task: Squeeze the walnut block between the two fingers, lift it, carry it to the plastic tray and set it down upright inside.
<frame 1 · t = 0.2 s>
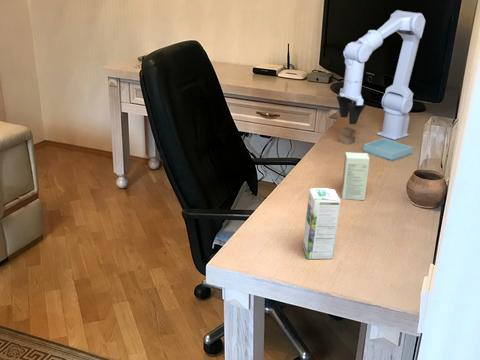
hand: (348, 120, 177), 10 cm above the table, fingers open, 7 cm apart
skincare box: (352, 197, 145), on the table
tray: (387, 152, 178), on the table
syrup box: (317, 253, 117), on the table
walnut block: (346, 142, 186), on the table
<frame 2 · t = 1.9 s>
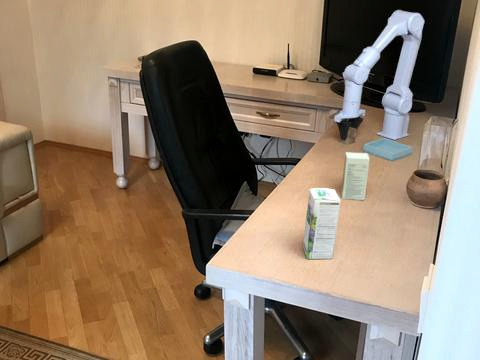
hand: (347, 138, 186), 1 cm above the table, fingers closed on walnut block, 4 cm apart
walnut block: (346, 141, 186), on the table, touching gripper
everything else where it was.
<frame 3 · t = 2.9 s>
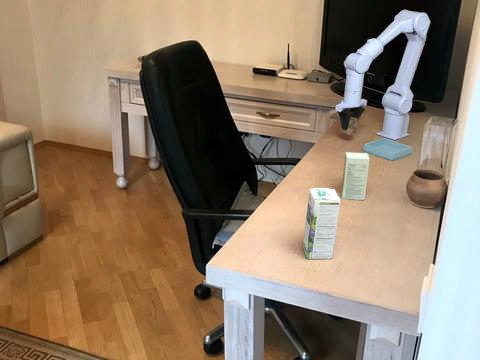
hand: (348, 128, 184), 5 cm above the table, fingers closed on walnut block, 4 cm apart
walnut block: (348, 132, 185), point 4 cm above the table, touching gripper
everything else where it was.
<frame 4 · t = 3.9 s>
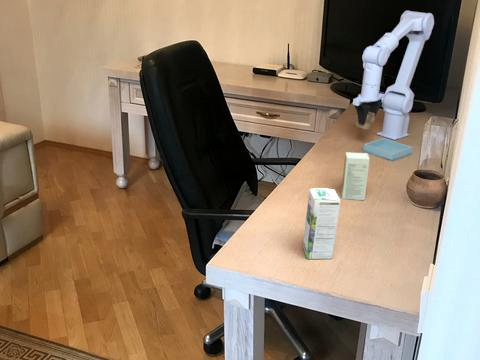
hand: (365, 122, 180), 8 cm above the table, fingers closed on walnut block, 4 cm apart
walnut block: (364, 127, 181), point 7 cm above the table, touching gripper
everything else where it was.
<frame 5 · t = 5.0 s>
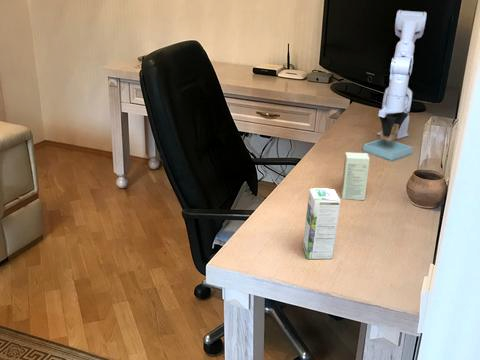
hand: (390, 134, 175), 6 cm above the table, fingers closed on walnut block, 4 cm apart
walnut block: (388, 138, 176), point 5 cm above the table, touching gripper
everything else where it was.
when the fingers open (4 cm above the table, at t = 6.0 s): walnut block drops 1 cm, resting on tray.
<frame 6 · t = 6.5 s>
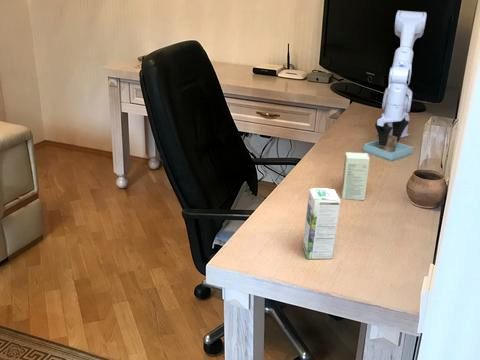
hand: (388, 142, 177), 4 cm above the table, fingers open, 7 cm apart
walnut block: (386, 150, 178), point 1 cm above the table, touching tray
everything else where it was.
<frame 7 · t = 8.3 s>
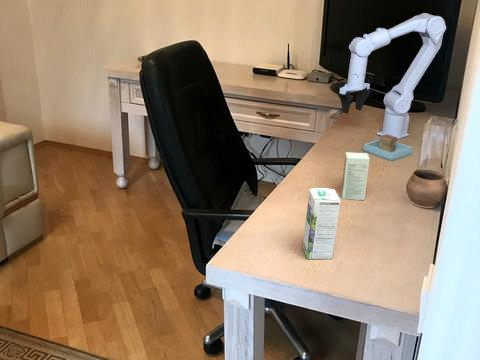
hand: (351, 111, 189), 9 cm above the table, fingers open, 7 cm apart
nothing on the table moved.
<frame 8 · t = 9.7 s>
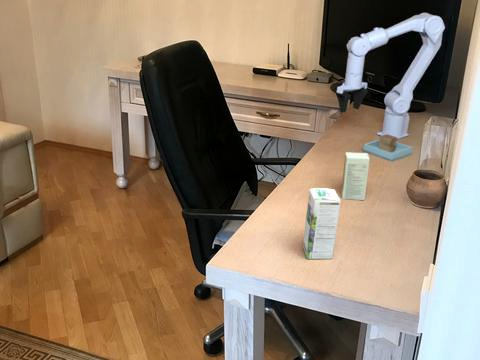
hand: (349, 110, 190), 9 cm above the table, fingers open, 7 cm apart
nothing on the table moved.
at the end: walnut block inside the target area on the tray (0.4 cm from its centre), point 0.6 cm above the tray's base; walnut block tilted 0°; the gripper is holding nothing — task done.
